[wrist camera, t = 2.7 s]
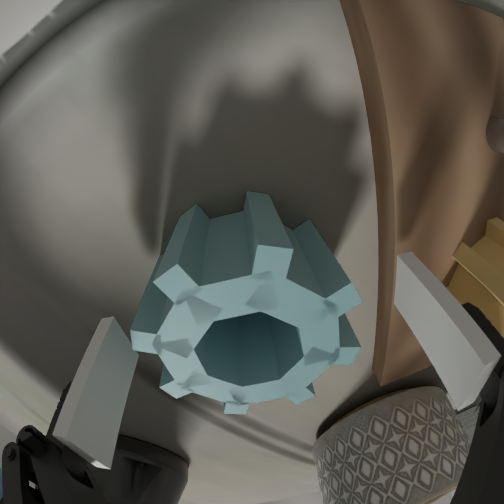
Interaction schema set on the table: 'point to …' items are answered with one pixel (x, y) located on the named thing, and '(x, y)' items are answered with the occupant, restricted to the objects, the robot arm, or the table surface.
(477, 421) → the robot arm
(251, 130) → the table surface
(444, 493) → the planter
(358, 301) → the gear
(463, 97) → the gear board
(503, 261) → the gear out
